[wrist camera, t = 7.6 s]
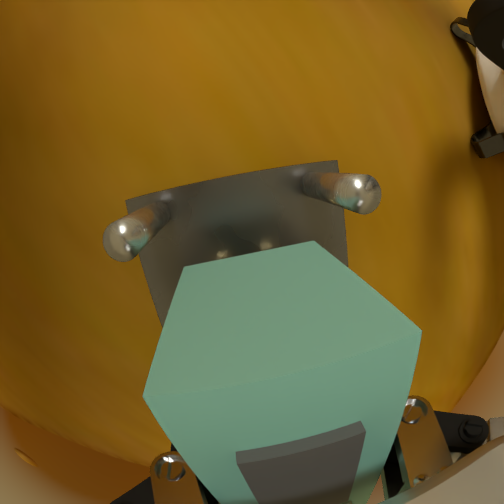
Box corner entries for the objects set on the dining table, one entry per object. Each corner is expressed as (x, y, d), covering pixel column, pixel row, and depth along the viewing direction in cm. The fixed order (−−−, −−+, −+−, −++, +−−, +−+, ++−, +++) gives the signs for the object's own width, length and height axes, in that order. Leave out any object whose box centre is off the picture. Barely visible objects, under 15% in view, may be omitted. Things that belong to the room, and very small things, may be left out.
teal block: (183, 266, 9) (138, 409, 3) (313, 240, 10) (432, 339, 4) (241, 440, 12) (255, 543, 6) (325, 421, 12) (363, 516, 6)
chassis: (130, 198, 13) (73, 219, 7) (331, 160, 13) (397, 158, 8) (204, 417, 17) (204, 484, 11) (343, 386, 17) (375, 446, 12)
